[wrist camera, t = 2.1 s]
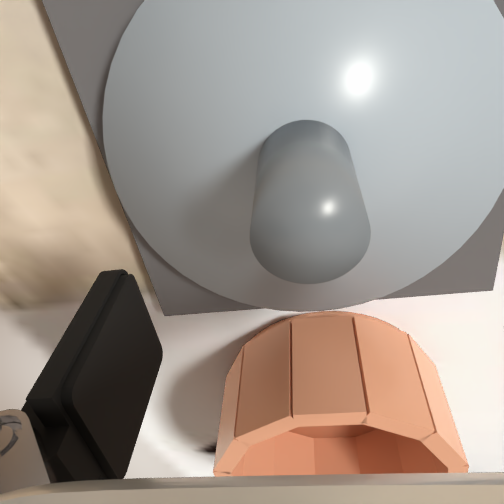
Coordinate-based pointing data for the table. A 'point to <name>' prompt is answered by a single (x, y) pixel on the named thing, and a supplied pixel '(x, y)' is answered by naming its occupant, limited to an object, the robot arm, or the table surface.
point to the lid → (307, 141)
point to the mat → (160, 272)
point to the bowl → (335, 402)
